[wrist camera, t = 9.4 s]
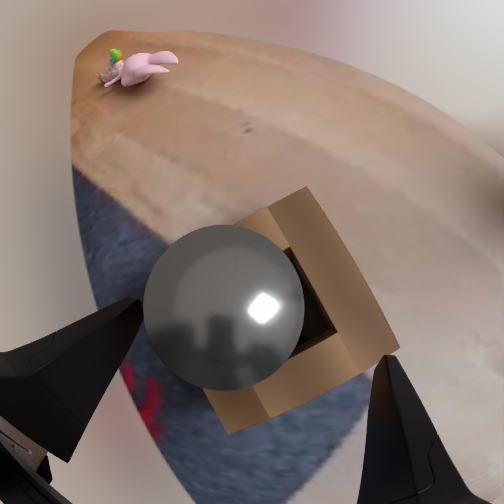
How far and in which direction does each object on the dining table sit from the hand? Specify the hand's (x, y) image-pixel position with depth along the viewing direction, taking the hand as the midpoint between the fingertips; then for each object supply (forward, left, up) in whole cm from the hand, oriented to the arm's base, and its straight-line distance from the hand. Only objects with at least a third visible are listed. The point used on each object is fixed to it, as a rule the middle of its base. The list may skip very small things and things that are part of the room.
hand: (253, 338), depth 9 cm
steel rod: (0, +1, -8) cm, 8 cm away
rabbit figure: (-1, +31, -9) cm, 32 cm away
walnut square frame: (0, +1, -8) cm, 8 cm away
